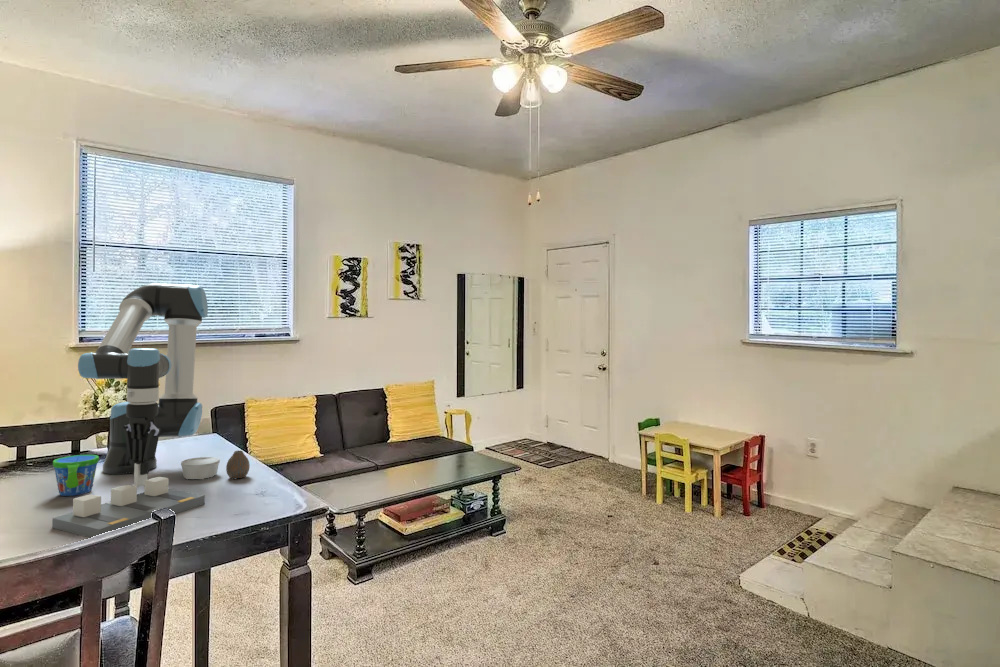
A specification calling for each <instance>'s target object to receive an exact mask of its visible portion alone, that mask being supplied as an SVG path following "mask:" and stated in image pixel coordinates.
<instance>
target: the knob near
mask: <svg viewBox="0 0 1000 667" xmlns="http://www.w3.org/2000/svg"><path fill="white" fill-rule="evenodd" d="M101 504H102V496H101V495H95V494H92V493H91V494H86V495H83V496H79V497H75V498H73V499H72V512H73V515H75V516H80V517H87V516H90V515H93V514H97V513H100V512H101Z"/></svg>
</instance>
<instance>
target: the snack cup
mask: <svg viewBox="0 0 1000 667" xmlns="http://www.w3.org/2000/svg"><path fill="white" fill-rule="evenodd" d="M99 461H100V457H99V455H97V454H77V455H68V456H64V457H63V456H62V457H59V458H55V459H54V460H52V467H53V468H54V471H55V472H54V473H55V480H56V484H57V489H58V494H59V495H60V496H61V497H63V496H65V497H70V496H71V497H72V496H79V495H80V496H81V495H84V494H86V493H90V491H92V489H93V486H94V481H95V477H96V470H97V465H98V463H99Z"/></svg>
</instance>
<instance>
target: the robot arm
mask: <svg viewBox="0 0 1000 667" xmlns="http://www.w3.org/2000/svg"><path fill="white" fill-rule="evenodd" d="M207 298H208V297H207V295H206V291H205V289H204V288H203V287H202V286H201V285H196V284H189V283H186V284H185V283H184V284H182V283H181V284H180V283H179V284H178V283H162V282H160V283H159V282H158V283H157V282H152V283H148V284H144V285H142V286H140V287H138V288H135V289H134V290H133V291H131V292H130V293H128V294H127V295H126V296H125V297H124V298H123V299H122V300H121V302H120V304H119V306H118V310H119V312H118V314H117V315H116V317H115V319H114V320H113V322H112V324H111V325H110V327H109V329H108V330H107V333H106V334H105V336H104V337H103V339H102V341H101V343H100V344H99V346H98V348H97V349H96V350H95V352H92V351H91V352H85V353H83V354H81V355H80V357H79V359H78V362H77V370H78V374H79V376H81V378H83V379H95V380H103V379H104V380H106V379H109V380H111V379H119V380H120V379H122V380H124V379H126V381H127V382H126V388H127V389H126V390H127V391H126V401H124V402H118V403H116V404H114V405H113V406H112V407H111V409H110V417H109V449H108V451H107V454H106V456H105V459H104V462H103V464H102V473H105V474H110V475H127V474H128V475H129V474H134V475H133V486H135V487H137V488H139V487H142V486H144V487H145V480H147V479H148V474H149V470H153V469H154V468H156V467H157V458H156V452H157V447H158V442H159V438H175V437H177V438H182V437H190V436H194V435H195V434H196V433H197V431H198V430H199V426H200V424H201V420H202V417H203V416H202V415H203V403H201V402H198V397H197V396H196V394H194V381H195V380H194V379H195V378H194V377H195V361H196V360H195V359H196V347H197V346H196V345H197V327H198V326H200V325H201V324H202V323H203V319H204V318H207V317H208V312H209V306H208V299H207ZM155 316H158V317H163V318H164V322H165V323H166V324H167V325H168V334H167V335H168V336H167V350H166V354H164V353H160V350H159V349H158V348H152V347H151V348H147V347H146V348H143V347H141V348H132V346H133V344H134V342H135V340H136V338H137V336H138V334H139V333H140V330H141V329H142V327H143V325H144V323H145V322H147V321H149V320H150V319H151V317H155ZM163 377H165V381H164V393H163V394H162V395H161V396H160V394H159V393H160V391H159V390H160V387H159V386H160V385H159V381H160V378H163ZM159 396H160V397H159Z"/></svg>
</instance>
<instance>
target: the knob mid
mask: <svg viewBox="0 0 1000 667" xmlns="http://www.w3.org/2000/svg"><path fill="white" fill-rule="evenodd" d="M110 489H111V490H110V501H111V504H113V505H117V506H124V505H127V504H131V503H134V502H137V494H138V492H137V491H138V487H135V486H134V485H129V484H124V485H121V486H117V487H114V488H113V487H112V488H110Z"/></svg>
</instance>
